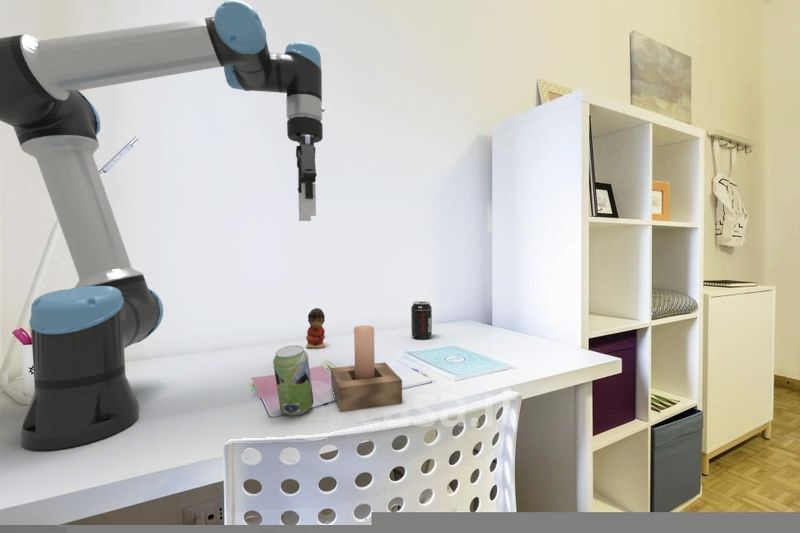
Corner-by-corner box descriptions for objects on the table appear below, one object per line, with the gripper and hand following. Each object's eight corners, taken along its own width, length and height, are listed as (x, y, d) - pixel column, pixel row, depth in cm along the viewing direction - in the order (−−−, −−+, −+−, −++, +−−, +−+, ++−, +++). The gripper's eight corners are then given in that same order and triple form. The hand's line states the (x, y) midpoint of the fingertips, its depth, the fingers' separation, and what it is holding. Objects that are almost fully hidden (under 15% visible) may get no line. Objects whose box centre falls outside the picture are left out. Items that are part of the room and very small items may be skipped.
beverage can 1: (319, 405, 72) (317, 343, 71) (300, 422, 65) (298, 353, 64) (289, 402, 73) (287, 341, 73) (267, 419, 66) (266, 352, 65)
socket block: (340, 411, 69) (339, 387, 69) (331, 388, 80) (331, 368, 80) (402, 402, 72) (401, 380, 72) (385, 382, 84) (385, 362, 84)
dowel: (357, 400, 74) (356, 330, 73) (353, 393, 78) (352, 326, 77) (377, 398, 75) (376, 328, 74) (372, 390, 79) (371, 324, 78)
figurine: (302, 346, 116) (301, 308, 115) (318, 343, 120) (317, 306, 119) (312, 350, 111) (311, 310, 111) (328, 347, 115) (328, 308, 114)
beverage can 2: (435, 338, 125) (435, 302, 124) (418, 341, 121) (418, 304, 121) (424, 334, 131) (424, 300, 130) (407, 337, 127) (407, 301, 127)
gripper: (329, 101, 71) (331, 213, 72) (317, 138, 95) (318, 222, 96) (288, 96, 69) (290, 212, 70) (286, 136, 93) (288, 222, 94)
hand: (306, 218), depth 83 cm, fingers open, 13 cm apart
